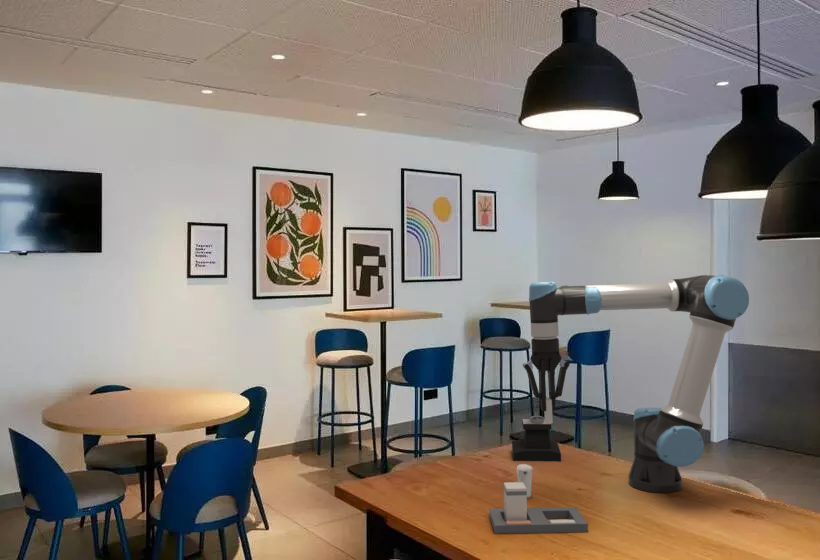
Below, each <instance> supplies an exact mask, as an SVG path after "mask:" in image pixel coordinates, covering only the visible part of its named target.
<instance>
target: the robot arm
mask: <svg viewBox="0 0 820 560" xmlns="http://www.w3.org/2000/svg"><path fill="white" fill-rule="evenodd" d="M528 289H529V292H528V293H529V294H528V295H529V296H528V297H529V298H528V301H529V315H530V316H529V317H530V318H529V319H530V337H532V339H531V341H530V342H531V343H530V344H531V355H530V358H529V360H528V361H527V362H524V363H522V367H523V368H524V370H525V371H526V373H527V376H528V380H529V381H528V382H529V383H530V384H529V385H530V388H531V391H532V394H533V396H534V397H535V398H536V399H540V410H541V411H542V412H544V419H545V422H546V423H547V424H548V423H551V424H553V423H554V421H553V411H556V410H557V409H556V407H557V406H556V399H557V398H558V397H562V395H563V389H564V384H565V379H566V374H567V370H568V369H569V367H570V364H571V363H570V362H569V361H567V360H565V359H563V358H562V355H561V353H560V340H559V338H558V336H560V335H559V319H558V317H559V316H569V315H570V316H571V315H572V316H573V315H575V316H576V315H588V316H589V315H591V314H593V315H594V314H598V313H599V312H600V311H617V310H622V311H623V310H624V311H625V310H651V309H652V310H654V309H660V310H661V309H667V310H668V311H670V312H683V313H684V312H685V313H689V319H690V320H691V322H692V326H691V328H690V333H689V336H688V338H687V342H686V346H685V349H684V352H683V354H682V358H681V361H680V365H679V369H678V371H677V375H676V377H675V380H674V384H673V387H672V390H671V394H670V397H669V401H668V403H667V405H665V406H663V407H640V408H639V407H638V408H636V409H635V410H634V412H633V419H632V420H633V443H634V444H633V447H634V448H633V451H634V452H633V453H634V454H633V455H634V457H633V460H632V464H631V466H630V470H629V473H628V484H629V486H630V487H633V488H634V489H636V490H637V489H638V490H640V491H645V492H651V493H659V494H660V493H661V494H662V493H674V492H678V491H680V490H681V489H682V488H683V478H682V476H681V473H680V469H679V468H684V467H688V466H691V465H693V464H695V463H696V462H698V460H699V459H700V458H701V456H702V455H703V452H704V447H705V444H704V440H703V438H702V435H701V432H702V429H703V426H704V421H703V420H702V418H701V411H702V409H703V405H704V402H705V399H706V396H707V392H708V389H709V387H710V383H711V380H712V377H713V373H714V370H715V367H716V364H717V360H718V358H719V354H720V351H721V348H722V344H723V341H724V338H725V335H726V333H728V332H730V331H732V330H733V329H734V327H735V324H736V320H737V319H738V318H739V317H741V316H742V315H744V314H745V313H746V311H747V309H748V307H749V304H750V295H749V292H748V290H747V288H746V286H745V285H744V283H743V282H742V281H741V280H739V279H738V278H736V277H733V276H728V275H723V274H718V275H710V274H709V275H707V274H705V275H704V274H703V275H695V276H689V277H684V278H682V277H681V278H676V279H674V278H671V279H668V281H666V282H654V283H653V282H650V283H621V284H594V285H593V284H591V285H561V286H560V285H559V286H557V283H556V282H555V281H539V282H532V283H530V285H529V288H528ZM558 365H559V371H558V376H557V382H556V381H555V378H556V377H555V374H556V373H555V372H556V371H555V370H556V368H557V367H558ZM533 366H534V367H535V368H536V370H537V371H538V381H539V382H538V385H539V387H538V385H537V382H536V378H535V374H534V371H533V368H534V367H533ZM546 372H547V373H546ZM546 374H547V378H548V379H547V383H548V385H546V384H547V383H546ZM547 386H548V397H547V388H546V387H547Z"/></svg>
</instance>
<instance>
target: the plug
mask: <svg viewBox="0 0 820 560" xmlns="http://www.w3.org/2000/svg"><path fill="white" fill-rule="evenodd" d="M527 501H528V498H527V488H526V487H525V485H524V483H523V482H518V481H515V482H513V481H512V482H510V481H509V482H503V508H504V519H503V521H504V522H506V521H523V520H527V508H528V507H527V506H528V504H527V503H528V502H527Z"/></svg>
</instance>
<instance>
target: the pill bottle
mask: <svg viewBox="0 0 820 560" xmlns="http://www.w3.org/2000/svg"><path fill="white" fill-rule="evenodd" d="M534 466H535V465H533V466H531V465H530V464H526V463H523V464H522V463H521V464H518V465H517V466H516V476H517V482H523V483H524V485H525V487H526V488H527V499H528V498H531V495H532V482H533V481H532V479H533V469H534Z"/></svg>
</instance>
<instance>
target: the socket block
mask: <svg viewBox="0 0 820 560" xmlns="http://www.w3.org/2000/svg"><path fill="white" fill-rule="evenodd" d="M488 509H489V510H488V515H489V519H490V522H491V525H492V528H493V532H494V534H497V535H498V534H538V533H540V534H541V533H542V534H544V533H548V534H549V533H551V534H553V533H554V534H555V533H586V532H587V533H588V532H589V528H588V527H589V525H588V524H589V523H588V522H587V521H586V519H585V518H584V517H583V515H582V513H581V512H580V511H579V509H578V508H577V507H576V506H558V507H557V506H556V507H555V506H553V507H552V506H551V507H549V506H548V507H527V520H523V521H506V522H505V521H504V507H502V508H500V507H497V508H488ZM548 519H550V520H548Z"/></svg>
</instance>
